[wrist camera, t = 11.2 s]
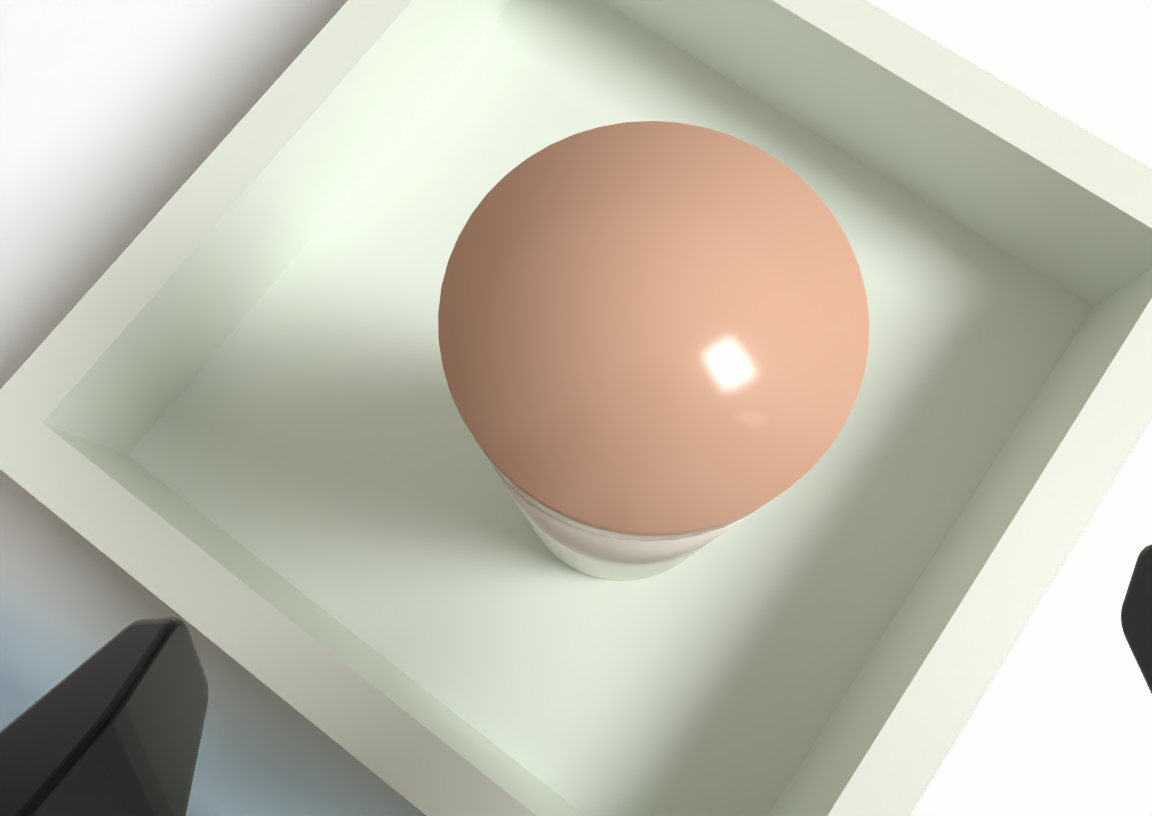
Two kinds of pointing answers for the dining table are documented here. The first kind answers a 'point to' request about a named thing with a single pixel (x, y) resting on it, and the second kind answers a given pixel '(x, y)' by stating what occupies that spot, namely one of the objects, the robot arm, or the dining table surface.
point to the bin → (477, 494)
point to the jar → (650, 339)
